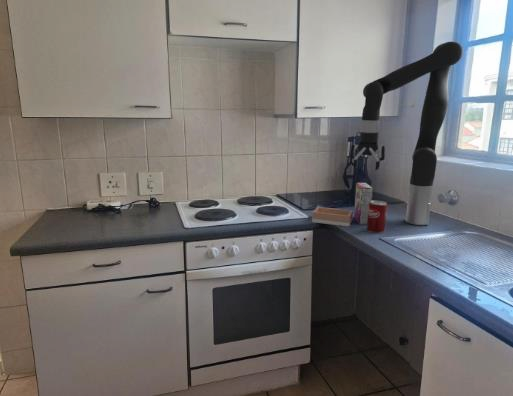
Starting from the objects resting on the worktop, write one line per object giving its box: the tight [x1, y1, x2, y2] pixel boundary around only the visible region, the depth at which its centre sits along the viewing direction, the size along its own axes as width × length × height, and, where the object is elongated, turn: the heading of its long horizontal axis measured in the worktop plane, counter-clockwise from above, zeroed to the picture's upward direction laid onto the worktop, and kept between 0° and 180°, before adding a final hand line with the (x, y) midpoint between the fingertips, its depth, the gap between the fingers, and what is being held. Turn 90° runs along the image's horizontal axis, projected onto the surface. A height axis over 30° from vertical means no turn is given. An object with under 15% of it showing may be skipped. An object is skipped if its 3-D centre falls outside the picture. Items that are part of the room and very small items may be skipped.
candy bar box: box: [353, 182, 374, 225], centre depth 169 cm, size 11×5×16 cm, turn 179°
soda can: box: [366, 200, 388, 234], centre depth 156 cm, size 7×7×12 cm
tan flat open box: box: [311, 206, 354, 227], centre depth 169 cm, size 16×10×4 cm, turn 69°
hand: (366, 169), depth 165 cm, fingers open, 8 cm apart
